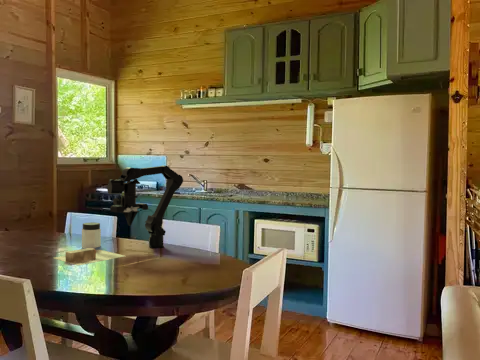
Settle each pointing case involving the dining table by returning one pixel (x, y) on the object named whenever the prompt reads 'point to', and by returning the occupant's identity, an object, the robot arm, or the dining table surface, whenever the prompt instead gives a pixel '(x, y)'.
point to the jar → (91, 235)
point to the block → (80, 255)
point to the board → (100, 256)
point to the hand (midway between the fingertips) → (129, 225)
